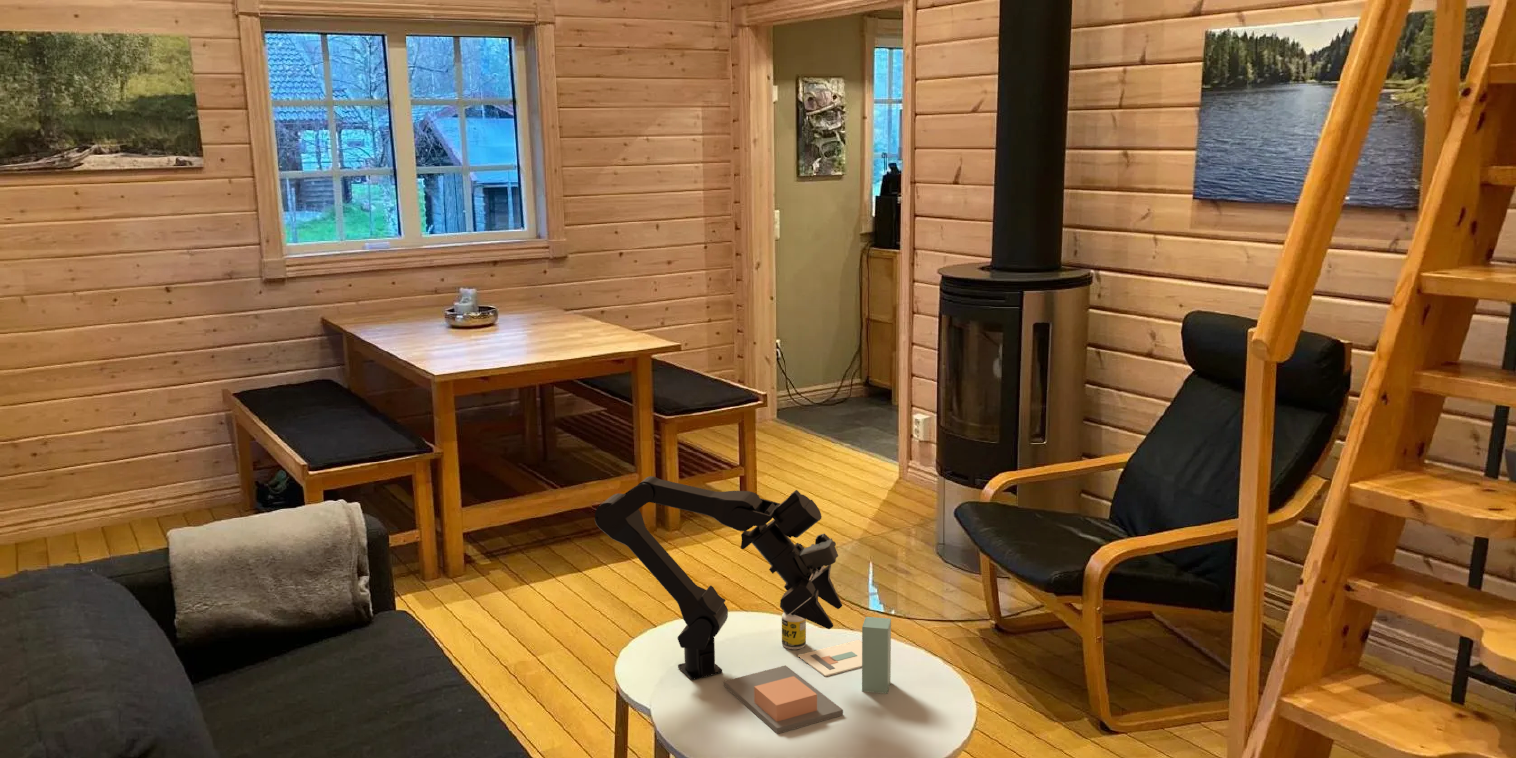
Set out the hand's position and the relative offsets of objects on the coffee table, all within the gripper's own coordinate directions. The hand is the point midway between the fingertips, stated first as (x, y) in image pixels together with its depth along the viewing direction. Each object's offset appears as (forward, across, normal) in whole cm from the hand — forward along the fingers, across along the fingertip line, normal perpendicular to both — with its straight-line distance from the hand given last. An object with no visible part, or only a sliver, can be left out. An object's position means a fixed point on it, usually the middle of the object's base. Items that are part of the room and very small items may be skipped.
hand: (836, 617), depth 207 cm
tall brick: (+15, 0, +3) cm, 15 cm away
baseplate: (+4, -8, +15) cm, 17 cm away
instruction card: (+9, +11, +9) cm, 17 cm away
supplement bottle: (+3, +15, +17) cm, 23 cm away
